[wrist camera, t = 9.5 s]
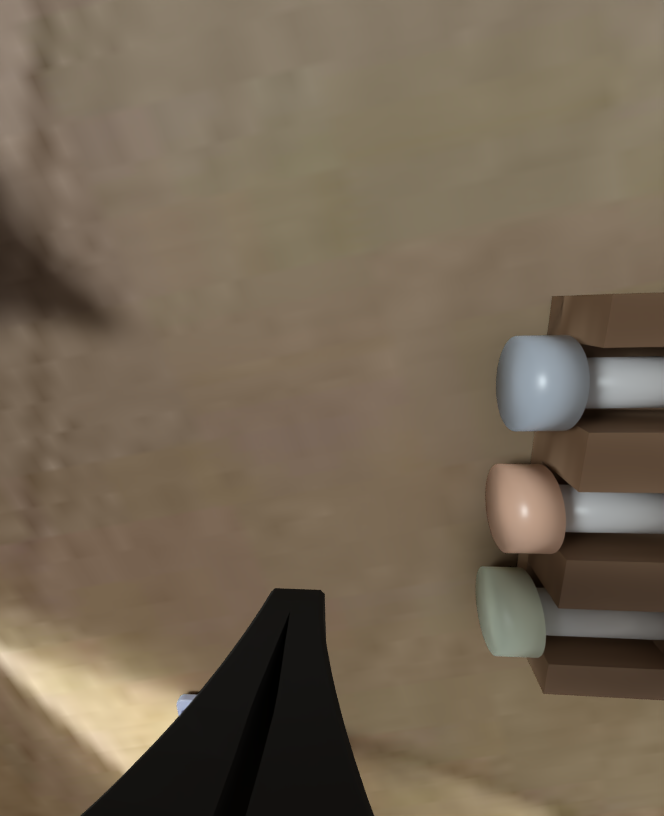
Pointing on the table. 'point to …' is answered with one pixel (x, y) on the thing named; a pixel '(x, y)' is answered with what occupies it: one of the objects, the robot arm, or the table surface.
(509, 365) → the knob slate
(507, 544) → the knob clay
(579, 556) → the mount
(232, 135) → the table surface
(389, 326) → the table surface
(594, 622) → the knob sage
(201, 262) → the table surface
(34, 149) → the table surface
